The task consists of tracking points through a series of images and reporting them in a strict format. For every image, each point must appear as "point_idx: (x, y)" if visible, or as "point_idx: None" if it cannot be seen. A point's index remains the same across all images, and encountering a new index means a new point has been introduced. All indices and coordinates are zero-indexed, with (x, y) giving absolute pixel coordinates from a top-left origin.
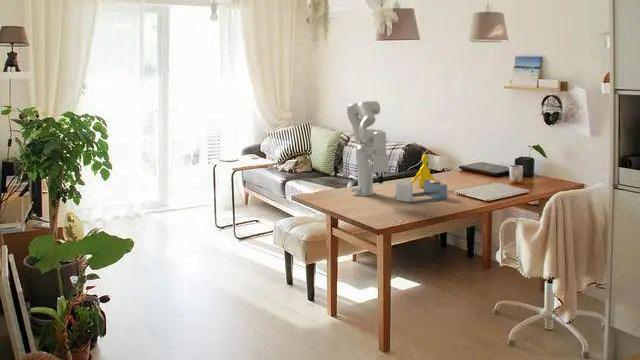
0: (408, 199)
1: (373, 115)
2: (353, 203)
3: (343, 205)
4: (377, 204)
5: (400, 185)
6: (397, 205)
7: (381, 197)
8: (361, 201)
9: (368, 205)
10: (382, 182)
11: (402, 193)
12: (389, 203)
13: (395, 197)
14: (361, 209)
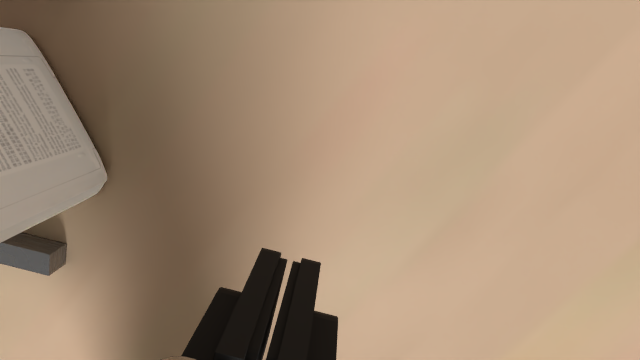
0: (16, 40)
1: None
2: (492, 350)
3: (611, 356)
4: (354, 180)
5: None
6: (220, 3)
7: (158, 345)
8: (387, 356)
9: (448, 209)
10: (271, 255)
11: (8, 117)
12: (235, 131)
13: (62, 253)
14: (625, 131)
